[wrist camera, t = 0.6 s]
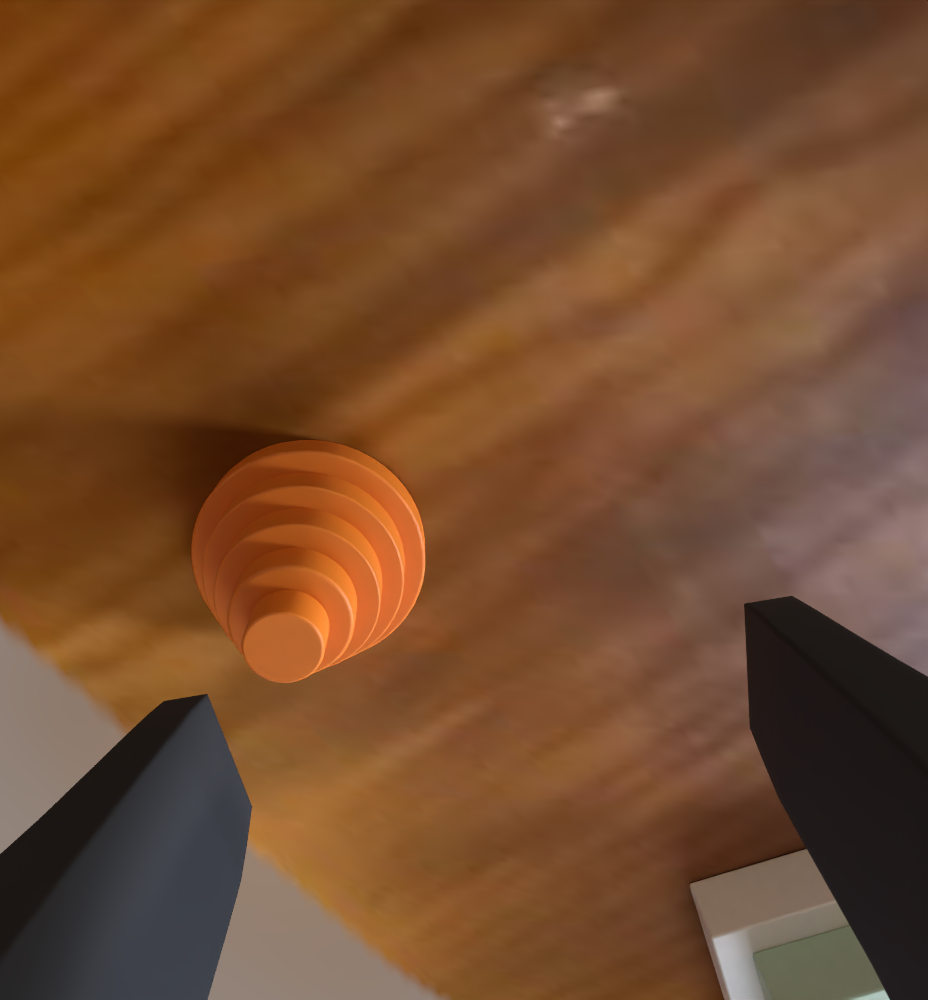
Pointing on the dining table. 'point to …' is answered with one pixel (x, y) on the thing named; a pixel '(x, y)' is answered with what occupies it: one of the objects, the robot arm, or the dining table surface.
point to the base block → (761, 916)
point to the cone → (308, 556)
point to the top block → (819, 969)
